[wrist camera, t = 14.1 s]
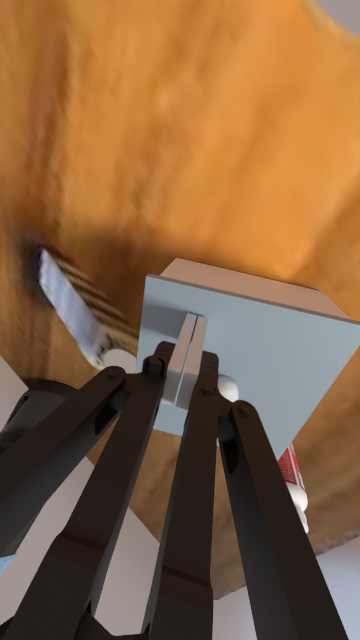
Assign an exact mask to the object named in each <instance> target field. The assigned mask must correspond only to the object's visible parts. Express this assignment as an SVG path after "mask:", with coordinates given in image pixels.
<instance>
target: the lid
mask: <svg viewBox="0 0 360 640" xmlns="http://www.w3.org/2000/svg"><path fill="white" fill-rule="evenodd" d="M187 313H189V314H193V315H197V317H196V321H195V325H194V329H193V333H192V337H191V341H190V345H189V349H188V353H187V356H186V360H185V364H184V368H183V371H182V375H181V379H180V383H179V386H178V390H177V394H176V398H175V401H174V405H173V406H171V405H168V404H164V403H161V402H160V406H159V411H158V414H157V417H156V420H155V423H154V426H153V429H156V430H160V431H164V432H168V433H171V434H175V435H179V436H182V435H183V430H184V427H183V426H184V423H185V419H186V416H187V413H188V410H185V409H182V408H178V407H175V406H176V402H177V398H178V394H179V390H180V386H181V382H182V378H183V374H184V370H185V366H186V362H187V358H188V354H189V351H190V347H191V343H192V339H193V335H194V331H195V327H196V323H197V319H198V316H201V317H205V318H208V321H207V327H206V333H205V339H204V345H203V350H204V351H207V352H211V353H215V354H217V356H218V358H219V369H218V389H219V392H220V393H221V395H222V396H223V397H225V398H226V399H228V400H230V401H231V402H235V401H236V400H244V401H247V402H249V403H251V404H252V405H253V406H254V407H255V409H256V410H257V412H258V414H259V417H260V419H261V422H262V424H263V427H264V429H265V432H266V434H267V437H268V439H269V442H270V444H271V447H272V449H273V452H274V454H275V457H276V459H277V461H278V460H279V459H280V457H281V456H282V455H283V453H284V452H285V450H286V449H287V447H288V446H289V445H290V443H291V442H292V440H293V439H294V437H295V436H296V435H297V433H298V432H299V430H300V429H301V427H302V426H303V425H304V423H305V422H306V420H307V419H308V418H309V416H310V415H311V413H312V412H313V410H314V409H315V408H316V406H317V405H318V403H319V402H320V400H321V399H322V398H323V396H324V395H325V393H326V392H327V391H328V389H329V388H330V386H331V385H332V383H333V382H334V381H335V379H336V378H337V376H338V375H339V373H340V372H341V371H342V369H343V368H344V366H345V365H346V363H347V362H348V361H349V359H350V358H351V356H352V355H353V354H354V352H355V351H356V349H357V348H358V346H359V345H360V321H356V320H351V319H347V318H342V317H338V316H334V315H329V314H325V313H321V312H316V311H312V310H307V309H303V308H299V307H294V306H290V305H286V304H281V303H277V302H273V301H268V300H264V299H259V298H255V297H251V296H246V295H242V294H238V293H233V292H229V291H224V290H220V289H216V288H211V287H207V286H203V285H198V284H194V283H190V282H185V281H181V280H176V279H172V278H168V277H163V276H159V275H155V274H150V273H149V274H148V275H147V276H146V281H145V290H144V299H143V308H142V316H141V325H140V334H139V343H138V352H137V361H136V370H135V373H140V372H142V366H143V360H144V359H145V358H146V357H148V356H152V355H153V354H154V352H155V350H156V348H157V345H158V344H159V343H160V342H162V341H163V340H164V341H167V342H171V343H175V344H176V343H177V340H178V338H179V335H180V332H181V329H182V327H183V324H184V321H185V318H186V316H187ZM217 446H219V442H218V438H217Z"/></svg>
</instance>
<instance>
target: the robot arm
mask: <svg viewBox="0 0 360 640" xmlns="http://www.w3.org/2000/svg"><path fill="white" fill-rule="evenodd" d="M196 317H197V315H193V314H189V313H187V316H186V318H185V321H184V324H183V327H182V329H181V332H180V335H179V338H178V340H177V343H176V344H175V343H171V342H167V341H164V340H163V341H162V342H160V343H159V344H158V345H157V348H156V350H155V352H154V354H153V355H152V356H148V357H146V358H145V359H144V360H143V366H142V372H140V373H135V374H129V373H128V374H127V373H126V372H125V370H124V369H123V368H121V367H118V366H109V367H106V368H105V369H103V370H102V371H101V372H99V373H98V374H97V375H96V376H94V377H93V378H92V379H91V380H90V381H88V382H87V383H86V384H85V385H84V386H82V387H81V388H80V389H79V390H78V391H77V390H75V389H73V388H71V387H69V386H66V385H64V384H60V383H56V382H40V383H37V384H35V385H33V386H32V387H31V388H30V389H29V390H28V391H27V392H26V393H24V394H23V395H22V397H21V398H20V399H19V401H18V403H17V405H16V406H15V408H14V410H13V412H12V414H11V415H10V417H9V419H8V421H7V422H6V424H5V426H4V428H3V429H2V431H1V432H0V575H1V574H2V572H3V571H4V569H5V568H6V566H7V565H8V564H9V562H10V561H11V560H12V559H13V558H14V557H15V554H16V550H17V549H18V548H19V546H20V544H21V542H22V541H23V539H24V538H25V536H26V534H27V533H28V531H29V529H30V527H31V526H32V524H33V523H34V521H35V519H36V517H37V516H38V514H39V513H40V511H41V509H42V508H43V506H44V504H45V503H46V501H47V500H48V499H49V498H50V497H51V496H52V494H53V493H54V492H55V491H56V490H57V488H58V487H59V486H60V485H61V484H62V482H63V481H64V480H65V479H66V478H67V477H68V475H69V474H70V473H71V472H72V471H73V469H74V468H75V467H76V466H77V465H78V464H79V462H80V461H81V460H82V459H83V458H84V457H85V455H86V454H87V453H88V452H89V451H90V449H91V448H92V447H93V446H94V445H95V444H96V442H97V441H98V440H99V439H100V438H101V436H102V435H103V434H104V433H105V432H106V431H107V429H108V428H109V427H110V426H111V425H112V423H113V422H114V421H115V420H116V419H117V418H118V416H119V415H120V414H121V415H120V417H119V419H118V421H117V423H116V425H115V427H114V429H113V431H112V433H111V435H110V437H109V439H108V441H107V443H106V445H105V447H104V449H103V451H102V453H101V455H100V457H99V460H98V462H97V464H96V466H95V468H94V470H93V472H92V474H91V476H90V478H89V480H88V482H87V484H86V486H85V488H84V490H83V492H82V494H81V496H80V498H79V500H78V502H77V504H76V506H75V508H74V510H73V512H72V514H71V516H70V518H69V520H68V522H67V524H66V526H65V528H64V529H63V531H62V532H61V533H60V534H58V536H56V538H55V539H54V541H53V542H52V544H51V545H50V548H49V549H48V551H47V553H46V555H45V556H44V559H43V561H42V562H41V564H40V566H39V568H38V571H37V572H36V574H35V576H34V578H33V580H32V582H31V584H30V586H29V588H28V590H27V592H26V594H25V596H24V598H23V600H22V602H21V603H20V606H19V607H18V610H17V611H16V613H15V615H14V616H13V617H11V618H10V619H9V620H7V621H6V622H4V623H3V624H2V625H0V640H212V628H213V627H212V626H213V590H212V586H211V583H210V560H211V542H212V523H213V505H214V486H215V467H216V449H217V438H218V442H219V447H220V452H221V457H222V463H223V468H224V473H225V478H226V483H227V488H228V493H229V498H230V503H231V508H232V514H233V519H234V524H235V529H236V534H237V539H238V544H239V549H240V554H241V559H242V564H243V570H244V575H245V580H246V585H247V589H248V595H249V600H250V605H251V610H252V615H253V620H254V626H255V630H256V636H257V640H349V639H348V637H347V634H346V632H345V629H344V627H343V624H342V622H341V619H340V617H339V614H338V612H337V609H336V607H335V604H334V602H333V599H332V597H331V594H330V592H329V589H328V587H327V584H326V582H325V579H324V577H323V574H322V572H321V569H320V567H319V564H318V562H317V559H316V557H315V554H314V552H313V549H312V547H311V544H310V542H309V539H308V537H307V534H306V532H305V529H304V527H303V524H302V522H301V519H300V517H299V514H298V512H297V509H296V507H295V504H294V502H293V499H292V497H291V494H290V492H289V489H288V487H287V484H286V482H285V479H284V477H283V474H282V472H281V469H280V467H279V464H278V462H277V459H276V457H275V454H274V452H273V449H272V447H271V444H270V442H269V439H268V437H267V434H266V432H265V429H264V427H263V424H262V422H261V419H260V417H259V414H258V412H257V410H256V409H255V407H254V406H253V405H252V404H251V403H249V402H247V401H244V400H236V401H235V402H231V401H230V400H228V399H226V398H225V397H223V396H222V395H221V393H220V392H219V389H218V369H219V358H218V356H217V354H215V353H211V352H207V351H204V350H203V345H204V339H205V333H206V327H207V321H208V318H205V317H201V316H198V319H197V323H196V327H195V331H194V335H193V339H192V343H191V347H190V351H189V354H188V358H187V362H186V366H185V370H184V374H183V378H182V382H181V386H180V390H179V394H178V398H177V402H176V406H175V407H178V408H182V409H185V410H188V413H187V416H186V419H185V423H184V426H183V427H184V430H183V435H182V440H181V444H180V449H179V454H178V459H177V464H176V469H175V474H174V479H173V484H172V488H171V493H170V498H169V503H168V508H167V513H166V518H165V523H164V527H163V532H162V537H161V542H160V547H159V552H158V557H157V562H156V566H155V571H154V577H153V582H152V586H151V590H150V595H149V599H148V603H147V607H146V611H145V616H144V620H143V625H142V630H141V634H134V635H122V636H113V635H111V634H110V633H109V632H108V631H107V630H106V629H105V628H104V627H103V626H102V625H101V624H100V623H99V622H98V621H97V620H96V619H95V618H94V615H95V611H96V608H97V605H98V602H99V599H100V595H101V591H102V589H103V584H104V581H105V577H106V573H107V570H108V567H109V564H110V560H111V557H112V554H113V551H114V548H115V545H116V542H117V539H118V535H119V532H120V529H121V526H122V523H123V520H124V517H125V514H126V511H127V508H128V504H129V501H130V498H131V495H132V492H133V489H134V486H135V483H136V479H137V476H138V473H139V470H140V467H141V464H142V461H143V458H144V454H145V451H146V448H147V445H148V442H149V439H150V436H151V433H152V429H153V426H154V423H155V420H156V417H157V414H158V411H159V406H160V402H161V403H164V404H168V405H171V406H173V405H174V401H175V398H176V394H177V390H178V386H179V383H180V379H181V375H182V371H183V368H184V364H185V360H186V356H187V353H188V349H189V345H190V341H191V337H192V333H193V329H194V325H195V321H196Z"/></svg>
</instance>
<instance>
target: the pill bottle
mask: <svg viewBox="0 0 360 640" xmlns="http://www.w3.org/2000/svg"><path fill="white" fill-rule="evenodd" d="M277 462H278V464H279V467H280V469H281V472H282V474H283V477H284V479H285V482H286V484H287V487H288V489H289V492H290V494H291V497H292V499H293V502H294V504H295V507H296V509H297V512H298V514H299V517H300V519H301V522H302V524H303V527H304V529H305V532H306V534H307V533H308V526H307V521H306V516H305V514H304V513H303V511H304V510H305V509H306V507H307V496H306V492H305V489H304V485H303V482H302V478H301V474H300V471H299V467H298V463H297V460H296V456H295V452H294V449H293V445H292V442H291V443H290V445H289V446H288V447H287V449H286V450H285V452H284V453H283V455H282V456H281V457H280V459H279V460H278V461H277Z"/></svg>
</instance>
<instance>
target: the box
mask: <svg viewBox="0 0 360 640" xmlns="http://www.w3.org/2000/svg"><path fill="white" fill-rule="evenodd" d="M159 276H163V277H168V278H172V279H176V280H181V281H185V282H190V283H194V284H198V285H203V286H207V287H211V288H216V289H220V290H224V291H229V292H233V293H238V294H242V295H246V296H251V297H255V298H259V299H264V300H268V301H273V302H277V303H281V304H286V305H290V306H294V307H299V308H303V309H307V310H312V311H316V312H321V313H325V314H329V315H334V316H338V317H342V318H347V319H350V318H349V317H348V316H347V315H346V314H345V313H344V312H343V311H342V310H341V309H340V308H339V307H337V306H336V305H335V304H334V303H333V302H332V301H331V300H330V299H329V298H328V297H327V296H325V295H324V294H323V293H322V292H321V291H319V290H314V289H310V288H306V287H301V286H297V285H293V284H288V283H284V282H280V281H276V280H271V279H267V278H263V277H258V276H254V275H250V274H245V273H241V272H237V271H232V270H228V269H224V268H220V267H215V266H211V265H207V264H202V263H198V262H194V261H189V260H185V259H181V258H176V259H175V260H174V261H173V262H172V263H171V264H170V265H169V266H168V267H167V268H166V269H165V270H164V271H163V272H162V273H161V274H160V275H159ZM351 320H352V319H351Z"/></svg>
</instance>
